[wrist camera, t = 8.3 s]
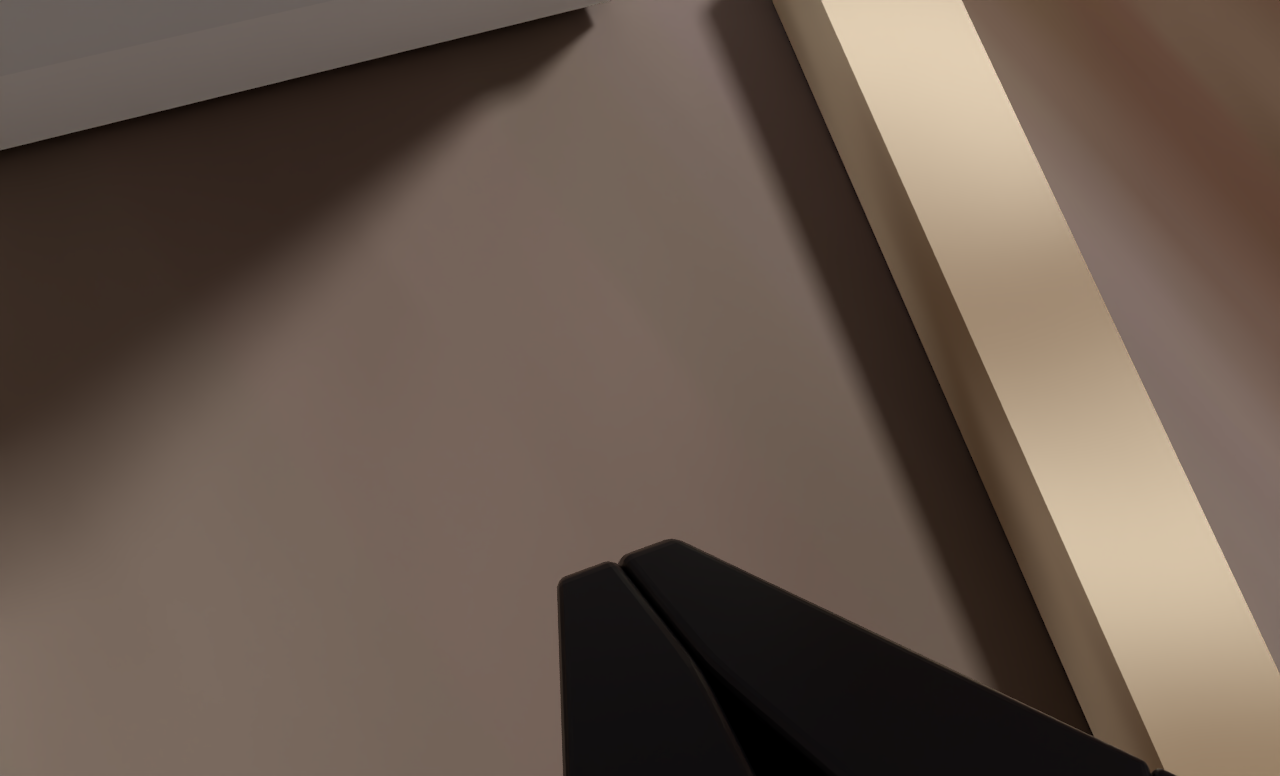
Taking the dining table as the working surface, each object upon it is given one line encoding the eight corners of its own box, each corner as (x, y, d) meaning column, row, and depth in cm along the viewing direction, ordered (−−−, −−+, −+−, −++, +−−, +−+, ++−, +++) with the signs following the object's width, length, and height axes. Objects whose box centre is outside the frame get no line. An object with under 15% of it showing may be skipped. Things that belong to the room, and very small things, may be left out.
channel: (1296, 852, 15) (1368, 862, 14) (-155, 1617, 11) (-221, 1726, 9) (872, -68, 18) (904, -122, 17) (-439, 228, 13) (-519, 181, 12)
